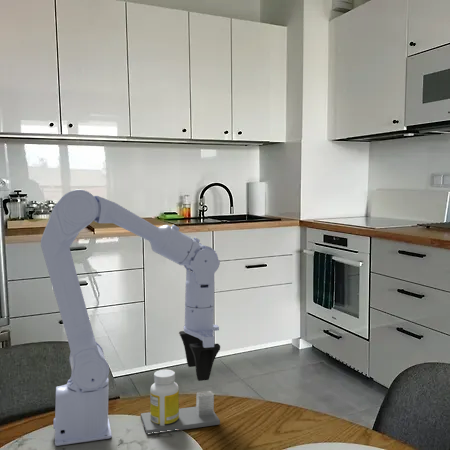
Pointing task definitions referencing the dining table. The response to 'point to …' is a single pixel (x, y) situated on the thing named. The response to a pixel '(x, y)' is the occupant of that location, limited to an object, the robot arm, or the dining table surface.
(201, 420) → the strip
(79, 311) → the robot arm
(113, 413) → the dining table surface
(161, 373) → the supplement bottle
